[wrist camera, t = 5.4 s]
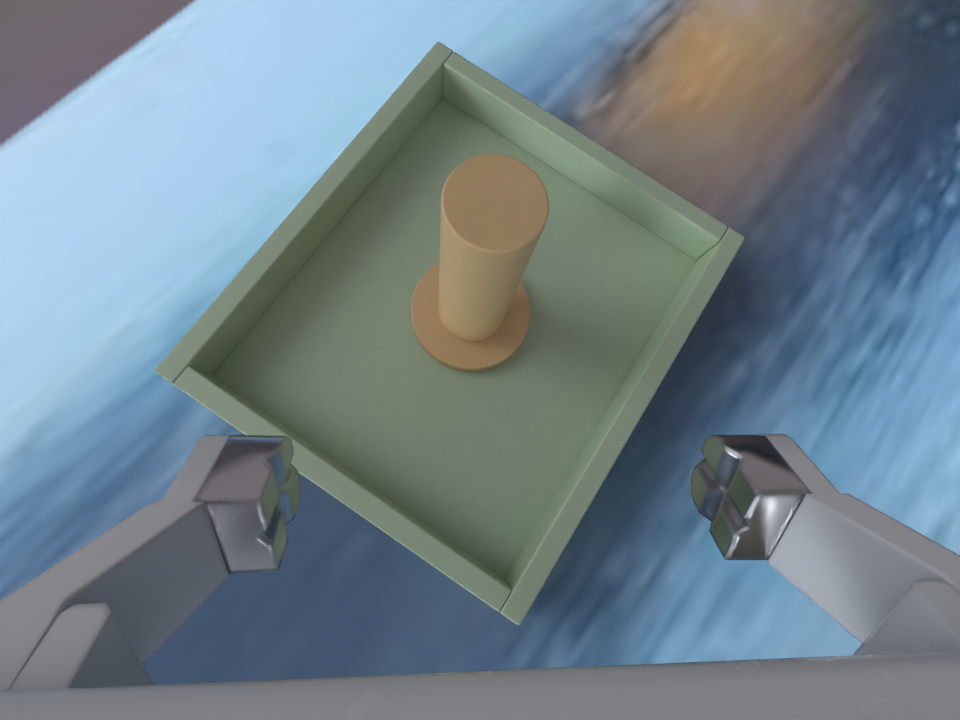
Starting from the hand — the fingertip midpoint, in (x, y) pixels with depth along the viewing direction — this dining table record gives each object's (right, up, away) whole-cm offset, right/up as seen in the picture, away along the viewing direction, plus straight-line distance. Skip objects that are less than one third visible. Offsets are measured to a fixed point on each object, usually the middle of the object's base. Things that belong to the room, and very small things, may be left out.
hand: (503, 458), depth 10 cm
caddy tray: (-1, +4, +12) cm, 12 cm away
